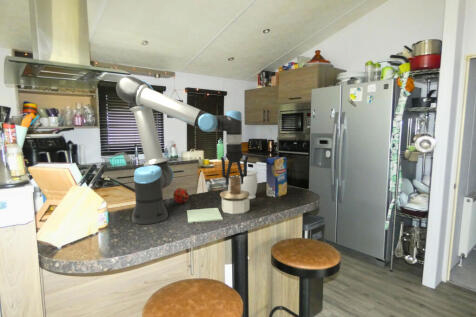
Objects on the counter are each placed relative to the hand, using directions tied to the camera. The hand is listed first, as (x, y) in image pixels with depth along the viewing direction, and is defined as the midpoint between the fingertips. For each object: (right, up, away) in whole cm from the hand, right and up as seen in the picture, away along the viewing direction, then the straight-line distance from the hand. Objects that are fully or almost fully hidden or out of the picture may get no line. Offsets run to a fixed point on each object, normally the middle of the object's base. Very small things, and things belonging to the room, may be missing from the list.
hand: (234, 190), depth 133 cm
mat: (-14, -11, -7) cm, 19 cm away
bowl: (0, -9, +1) cm, 9 cm away
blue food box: (+25, -6, +30) cm, 39 cm away
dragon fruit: (-29, -9, +16) cm, 35 cm away
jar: (+8, -7, +24) cm, 26 cm away
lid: (0, -2, 0) cm, 2 cm away
